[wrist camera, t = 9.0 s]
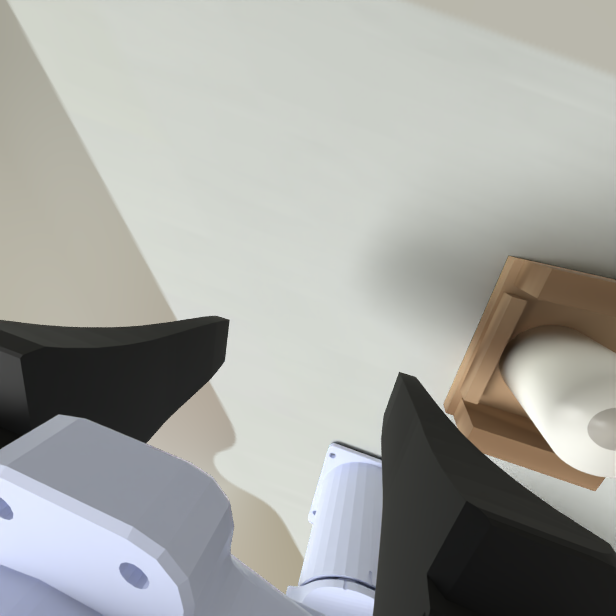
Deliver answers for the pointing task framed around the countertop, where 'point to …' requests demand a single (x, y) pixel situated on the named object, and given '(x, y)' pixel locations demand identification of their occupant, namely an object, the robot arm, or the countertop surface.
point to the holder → (491, 343)
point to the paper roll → (566, 393)
